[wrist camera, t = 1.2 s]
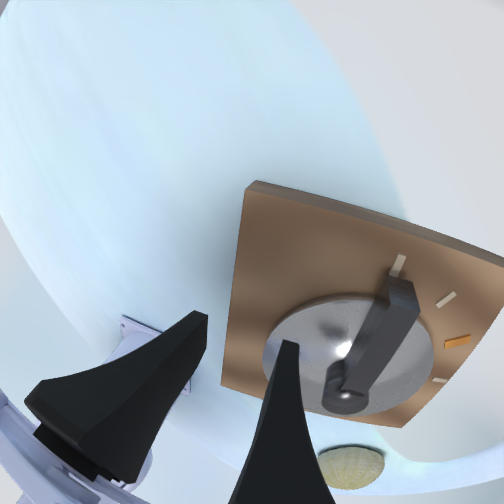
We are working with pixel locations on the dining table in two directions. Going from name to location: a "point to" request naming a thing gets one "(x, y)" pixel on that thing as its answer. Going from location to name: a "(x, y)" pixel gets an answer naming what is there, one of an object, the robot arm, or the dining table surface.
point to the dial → (357, 349)
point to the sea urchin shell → (350, 467)
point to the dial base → (352, 282)
